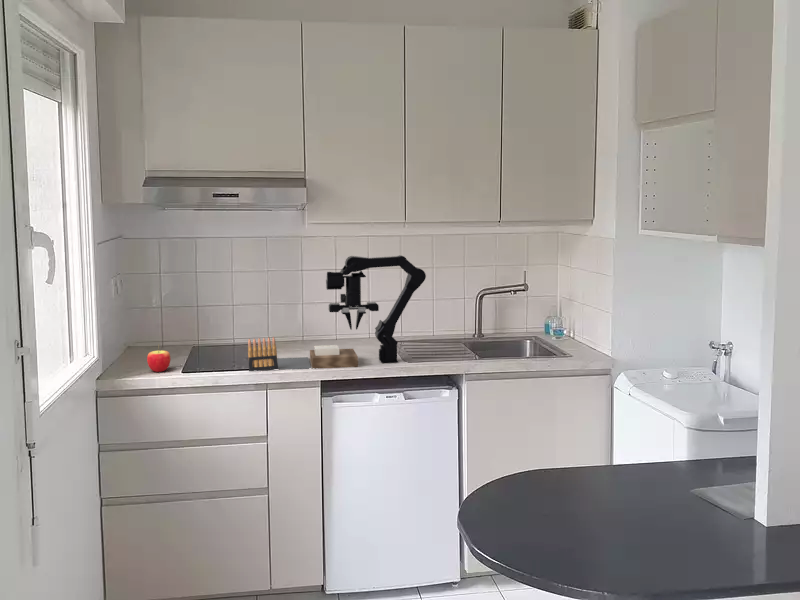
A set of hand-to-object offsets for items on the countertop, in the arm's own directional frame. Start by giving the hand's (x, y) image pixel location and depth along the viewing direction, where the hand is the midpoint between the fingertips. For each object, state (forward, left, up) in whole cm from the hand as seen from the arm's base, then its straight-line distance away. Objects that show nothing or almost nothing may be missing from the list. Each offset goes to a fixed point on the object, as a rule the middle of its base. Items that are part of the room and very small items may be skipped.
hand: (353, 329), depth 314 cm
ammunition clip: (+34, +7, -13) cm, 38 cm away
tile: (+10, 0, -9) cm, 14 cm away
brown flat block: (+8, 0, -13) cm, 15 cm away
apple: (+72, +2, -13) cm, 74 cm away
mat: (+24, -2, -13) cm, 27 cm away
